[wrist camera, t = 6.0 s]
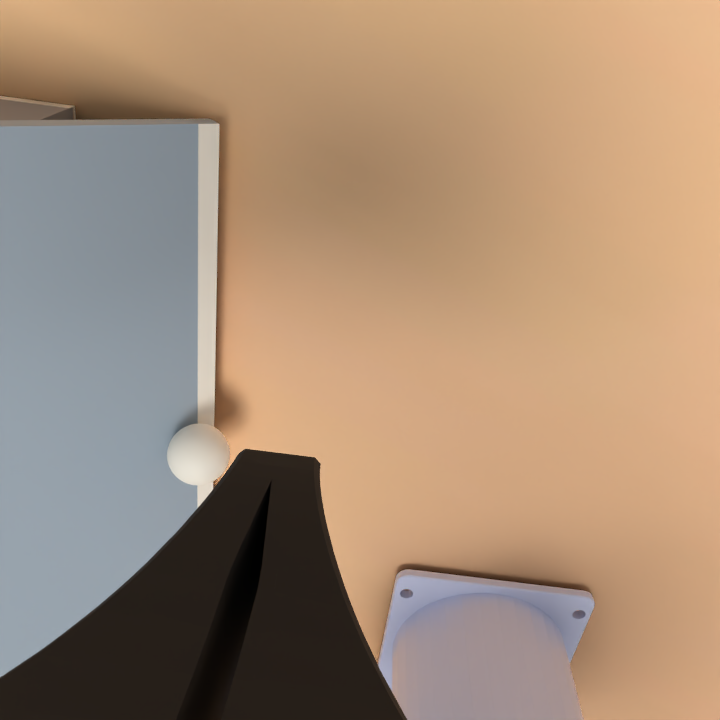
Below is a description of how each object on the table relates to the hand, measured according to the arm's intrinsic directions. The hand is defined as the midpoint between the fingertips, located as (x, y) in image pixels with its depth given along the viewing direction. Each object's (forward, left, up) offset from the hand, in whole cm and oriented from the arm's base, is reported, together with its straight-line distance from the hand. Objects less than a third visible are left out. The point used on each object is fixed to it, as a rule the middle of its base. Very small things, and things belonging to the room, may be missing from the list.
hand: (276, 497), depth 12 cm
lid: (-6, +9, -6) cm, 12 cm away
